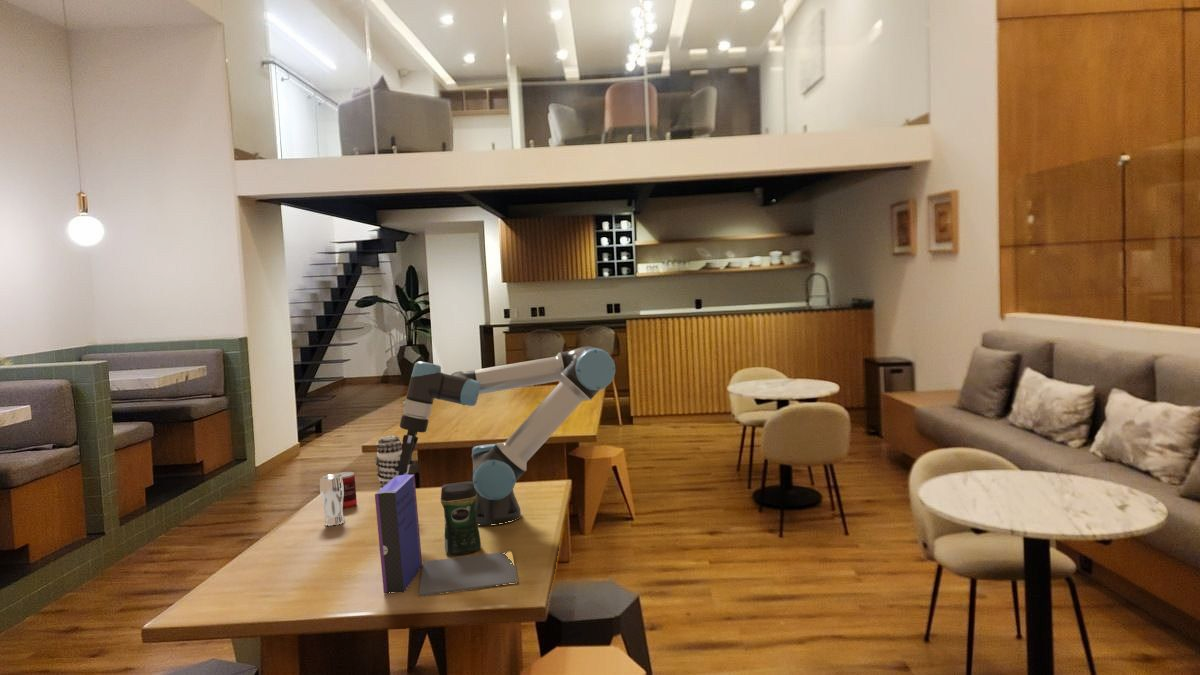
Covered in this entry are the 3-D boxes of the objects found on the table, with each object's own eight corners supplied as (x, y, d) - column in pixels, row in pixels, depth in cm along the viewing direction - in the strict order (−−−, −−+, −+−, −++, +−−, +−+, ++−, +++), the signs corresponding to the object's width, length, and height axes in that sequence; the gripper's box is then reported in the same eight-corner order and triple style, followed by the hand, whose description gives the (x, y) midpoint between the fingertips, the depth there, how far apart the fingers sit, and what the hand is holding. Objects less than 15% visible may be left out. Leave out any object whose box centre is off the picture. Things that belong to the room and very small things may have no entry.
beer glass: (338, 526, 233) (334, 479, 232) (318, 526, 234) (314, 479, 233) (350, 519, 239) (346, 473, 238) (331, 519, 241) (326, 473, 240)
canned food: (335, 504, 260) (333, 472, 259) (359, 502, 261) (356, 470, 260) (329, 510, 252) (327, 478, 252) (354, 508, 253) (351, 476, 252)
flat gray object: (512, 552, 199) (512, 550, 199) (518, 583, 177) (518, 581, 177) (423, 563, 195) (423, 561, 195) (418, 596, 173) (418, 594, 173)
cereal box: (403, 566, 194) (395, 475, 192) (422, 565, 194) (414, 473, 192) (383, 593, 176) (374, 493, 175) (404, 592, 176) (395, 492, 175)
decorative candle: (396, 507, 250) (390, 433, 249) (415, 511, 245) (409, 435, 243) (374, 515, 243) (367, 439, 241) (392, 518, 237) (386, 440, 236)
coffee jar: (479, 543, 208) (474, 477, 207) (482, 552, 201) (476, 484, 199) (444, 548, 206) (439, 481, 205) (445, 557, 198) (439, 488, 197)
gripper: (405, 409, 223) (388, 480, 222) (398, 417, 198) (380, 496, 197) (430, 415, 224) (414, 484, 223) (427, 423, 200) (408, 502, 199)
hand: (398, 490), depth 210 cm, fingers open, 13 cm apart
